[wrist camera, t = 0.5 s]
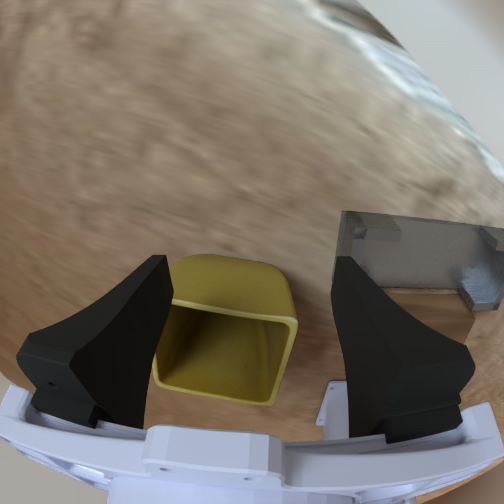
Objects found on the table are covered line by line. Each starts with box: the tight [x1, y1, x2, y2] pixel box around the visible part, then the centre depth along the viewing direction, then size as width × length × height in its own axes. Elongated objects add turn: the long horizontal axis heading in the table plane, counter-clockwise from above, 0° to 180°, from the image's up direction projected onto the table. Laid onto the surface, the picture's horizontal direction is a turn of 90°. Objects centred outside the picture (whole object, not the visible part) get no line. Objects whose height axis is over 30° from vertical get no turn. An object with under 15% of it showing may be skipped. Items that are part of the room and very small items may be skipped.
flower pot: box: [152, 254, 299, 406], centre depth 22 cm, size 9×9×9 cm
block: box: [386, 293, 476, 344], centre depth 24 cm, size 4×11×4 cm, turn 89°
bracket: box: [332, 211, 504, 311], centre depth 21 cm, size 7×16×4 cm, turn 89°
